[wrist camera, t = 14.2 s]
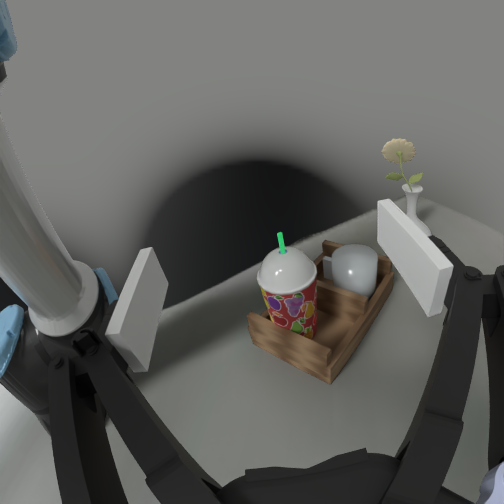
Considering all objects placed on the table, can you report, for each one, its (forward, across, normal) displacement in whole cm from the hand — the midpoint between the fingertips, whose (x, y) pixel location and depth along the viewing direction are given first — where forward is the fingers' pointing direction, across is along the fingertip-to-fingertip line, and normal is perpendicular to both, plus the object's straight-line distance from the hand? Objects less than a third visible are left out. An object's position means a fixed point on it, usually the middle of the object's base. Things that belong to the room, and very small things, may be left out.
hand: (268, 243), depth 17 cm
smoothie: (+19, +1, -31) cm, 36 cm away
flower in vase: (+41, +33, -32) cm, 62 cm away
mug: (+26, +13, -31) cm, 42 cm away
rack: (+23, +8, -32) cm, 40 cm away
